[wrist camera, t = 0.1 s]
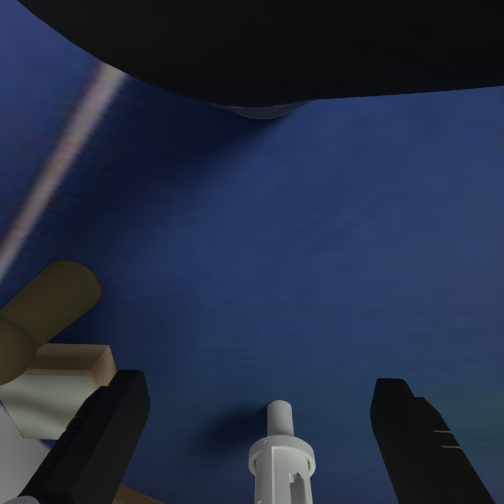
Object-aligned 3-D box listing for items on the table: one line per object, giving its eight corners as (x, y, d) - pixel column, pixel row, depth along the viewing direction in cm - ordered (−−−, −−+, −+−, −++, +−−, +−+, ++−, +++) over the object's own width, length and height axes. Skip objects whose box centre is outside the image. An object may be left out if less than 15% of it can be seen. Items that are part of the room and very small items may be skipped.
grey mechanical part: (315, 417, 36) (345, 597, 22) (267, 431, 38) (267, 606, 24) (292, 382, 33) (310, 560, 20) (241, 399, 35) (225, 573, 22)
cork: (57, 311, 31) (-44, 402, 21) (33, 262, 28) (-95, 339, 18) (109, 307, 30) (31, 399, 20) (89, 257, 28) (-12, 333, 18)
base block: (10, 342, 33) (-22, 369, 29) (108, 344, 32) (88, 372, 29) (44, 410, 38) (20, 440, 34) (129, 413, 37) (114, 444, 34)
